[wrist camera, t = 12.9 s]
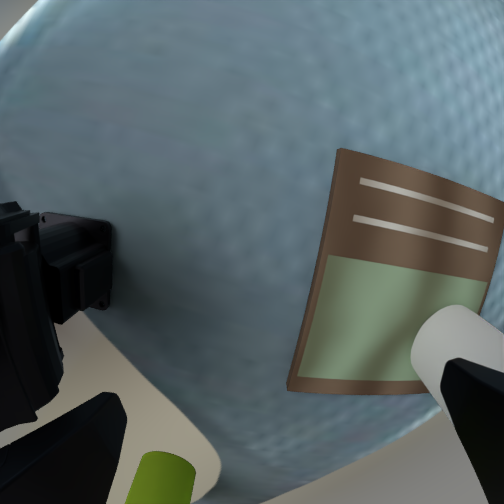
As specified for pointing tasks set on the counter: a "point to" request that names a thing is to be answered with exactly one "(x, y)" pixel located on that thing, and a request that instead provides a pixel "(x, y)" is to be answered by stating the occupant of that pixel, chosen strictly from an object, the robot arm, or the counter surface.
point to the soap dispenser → (162, 480)
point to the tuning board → (389, 273)
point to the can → (454, 346)
